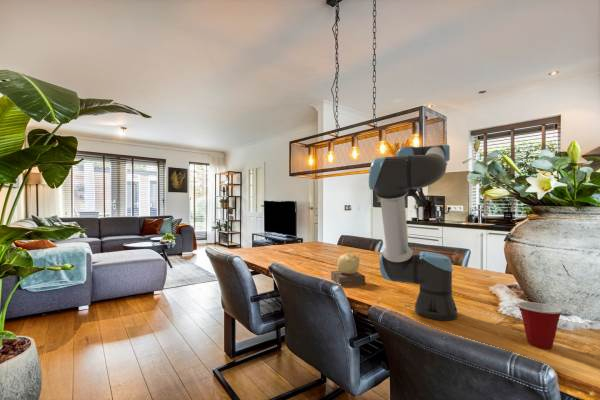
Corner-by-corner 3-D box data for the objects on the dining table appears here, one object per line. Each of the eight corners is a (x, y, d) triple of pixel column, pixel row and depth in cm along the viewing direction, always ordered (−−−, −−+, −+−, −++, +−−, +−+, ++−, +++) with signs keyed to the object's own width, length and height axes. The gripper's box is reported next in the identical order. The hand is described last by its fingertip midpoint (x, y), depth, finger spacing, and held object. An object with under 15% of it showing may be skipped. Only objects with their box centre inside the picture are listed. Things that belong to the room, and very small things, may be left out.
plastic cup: (544, 336, 92) (544, 299, 92) (573, 354, 82) (573, 312, 82) (509, 335, 93) (508, 298, 93) (532, 352, 83) (532, 311, 83)
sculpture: (355, 277, 147) (356, 257, 147) (333, 273, 153) (335, 253, 152) (361, 272, 158) (362, 253, 157) (340, 268, 163) (342, 249, 162)
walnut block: (365, 285, 150) (365, 276, 150) (340, 287, 146) (340, 277, 147) (354, 278, 163) (354, 269, 163) (331, 280, 160) (331, 271, 160)
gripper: (426, 178, 149) (426, 219, 149) (382, 178, 144) (382, 219, 144) (435, 177, 142) (435, 220, 142) (390, 176, 137) (390, 220, 137)
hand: (409, 219), depth 143 cm, fingers open, 13 cm apart
